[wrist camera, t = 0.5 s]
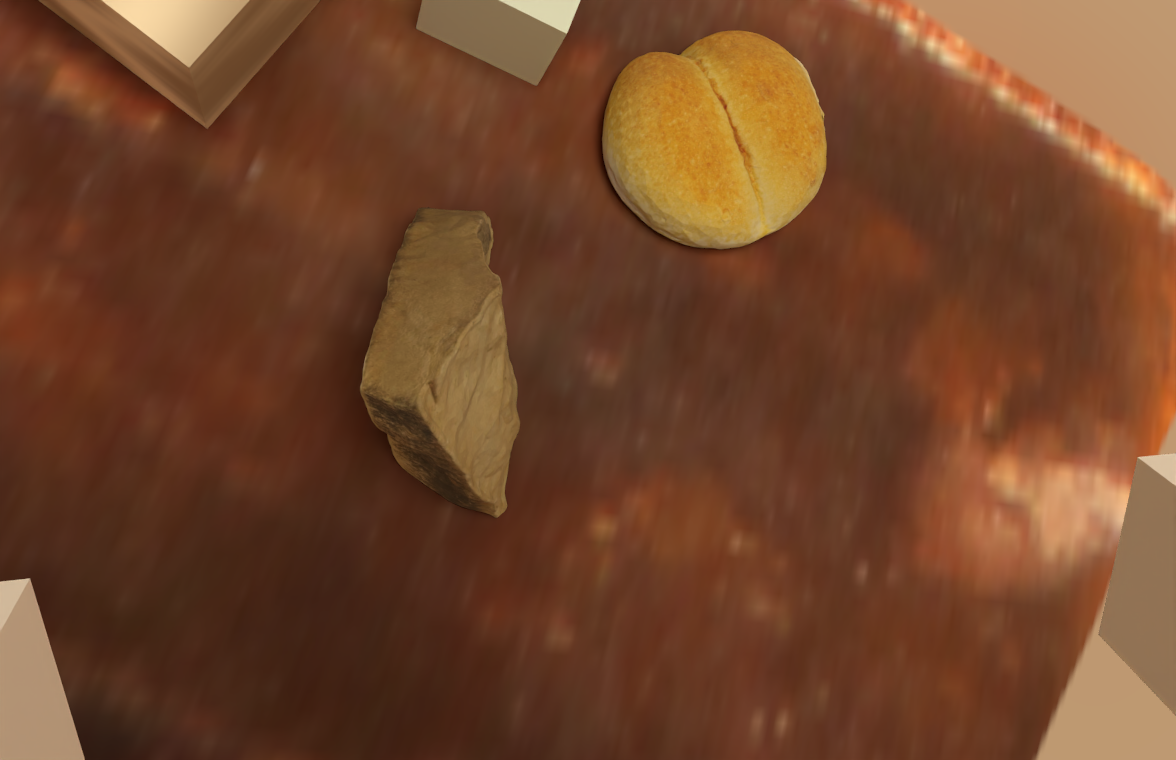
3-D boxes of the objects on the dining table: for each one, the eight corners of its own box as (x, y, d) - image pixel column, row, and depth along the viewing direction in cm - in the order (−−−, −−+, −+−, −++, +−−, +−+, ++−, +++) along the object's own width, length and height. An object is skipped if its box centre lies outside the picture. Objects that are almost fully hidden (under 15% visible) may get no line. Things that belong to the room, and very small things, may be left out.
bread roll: (566, 87, 41) (593, 46, 37) (761, 30, 43) (805, -14, 39) (640, 284, 41) (675, 264, 37) (831, 216, 43) (882, 191, 39)
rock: (382, 122, 36) (220, 358, 33) (565, 120, 31) (395, 401, 27) (539, 305, 44) (421, 512, 40) (709, 329, 38) (589, 570, 35)
